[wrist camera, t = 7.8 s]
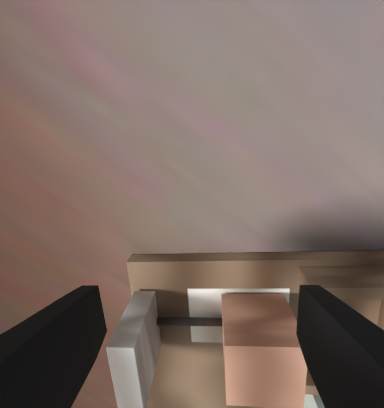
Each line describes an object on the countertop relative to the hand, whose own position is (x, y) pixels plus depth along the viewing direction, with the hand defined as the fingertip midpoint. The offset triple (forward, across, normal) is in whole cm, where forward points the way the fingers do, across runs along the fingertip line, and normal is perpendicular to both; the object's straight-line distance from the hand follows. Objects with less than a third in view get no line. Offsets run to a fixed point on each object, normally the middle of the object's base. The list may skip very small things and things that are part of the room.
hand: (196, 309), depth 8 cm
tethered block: (+8, 0, +8) cm, 11 cm away
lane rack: (+9, -4, +11) cm, 15 cm away
